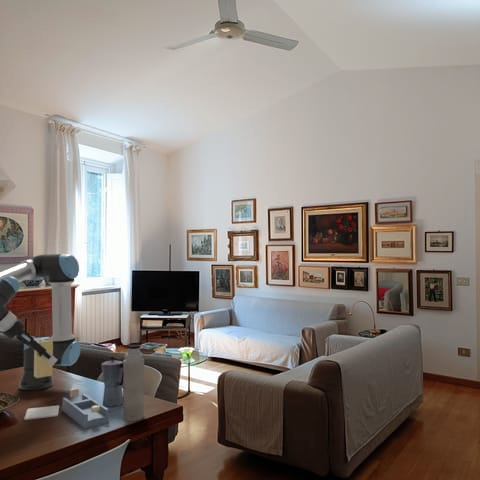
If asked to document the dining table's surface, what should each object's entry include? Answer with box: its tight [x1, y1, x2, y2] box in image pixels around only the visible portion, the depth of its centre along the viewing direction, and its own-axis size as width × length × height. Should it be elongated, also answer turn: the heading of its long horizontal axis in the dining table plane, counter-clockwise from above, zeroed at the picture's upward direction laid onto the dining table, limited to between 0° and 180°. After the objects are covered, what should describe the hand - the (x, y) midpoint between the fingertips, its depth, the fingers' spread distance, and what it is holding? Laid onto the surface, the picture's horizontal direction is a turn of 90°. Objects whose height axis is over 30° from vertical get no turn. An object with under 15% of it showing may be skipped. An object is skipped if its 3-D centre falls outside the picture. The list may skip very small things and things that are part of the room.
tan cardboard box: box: [34, 339, 54, 378], centre depth 175 cm, size 4×6×14 cm, turn 130°
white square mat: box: [23, 405, 60, 421], centre depth 174 cm, size 12×12×1 cm
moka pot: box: [100, 356, 123, 407], centre depth 185 cm, size 10×15×20 cm, turn 55°
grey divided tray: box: [62, 387, 110, 429], centre depth 171 cm, size 25×9×8 cm, turn 40°
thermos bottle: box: [122, 344, 145, 422], centre depth 170 cm, size 8×8×28 cm
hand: (53, 361), depth 178 cm, fingers closed on tan cardboard box, 4 cm apart
